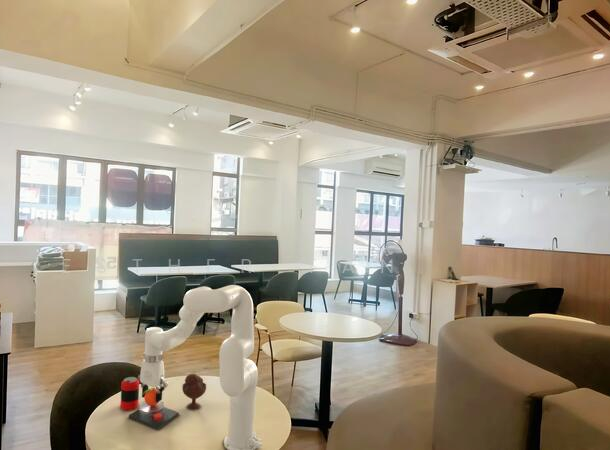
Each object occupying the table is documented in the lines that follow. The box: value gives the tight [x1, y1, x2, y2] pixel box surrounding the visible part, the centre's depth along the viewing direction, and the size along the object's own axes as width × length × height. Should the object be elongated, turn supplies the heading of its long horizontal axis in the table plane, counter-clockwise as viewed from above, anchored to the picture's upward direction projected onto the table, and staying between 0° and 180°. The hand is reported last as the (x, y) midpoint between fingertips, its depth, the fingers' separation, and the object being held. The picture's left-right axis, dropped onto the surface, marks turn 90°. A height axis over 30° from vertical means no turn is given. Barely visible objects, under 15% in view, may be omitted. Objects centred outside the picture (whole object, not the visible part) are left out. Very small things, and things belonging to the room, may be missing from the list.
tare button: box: [154, 413, 162, 421], centre depth 149 cm, size 3×3×2 cm
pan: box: [137, 400, 165, 414], centre depth 157 cm, size 11×11×1 cm
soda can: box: [120, 376, 140, 411], centre depth 163 cm, size 8×8×12 cm
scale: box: [128, 406, 180, 431], centre depth 155 cm, size 16×14×3 cm
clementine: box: [143, 387, 159, 406], centre depth 158 cm, size 8×7×7 cm
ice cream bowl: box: [181, 373, 207, 411], centre depth 165 cm, size 11×11×15 cm
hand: (151, 398), depth 157 cm, fingers closed on clementine, 7 cm apart
